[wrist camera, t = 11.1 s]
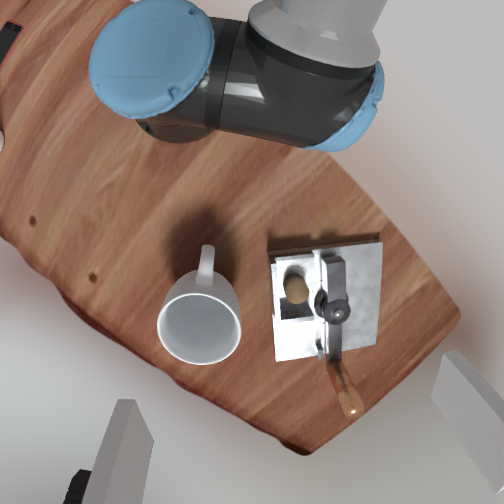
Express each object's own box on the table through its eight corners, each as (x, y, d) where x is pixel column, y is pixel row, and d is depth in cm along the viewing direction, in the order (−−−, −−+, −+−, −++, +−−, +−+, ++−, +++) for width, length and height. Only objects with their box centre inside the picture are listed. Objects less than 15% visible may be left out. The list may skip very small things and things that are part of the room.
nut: (280, 276, 49) (284, 284, 46) (303, 271, 49) (307, 279, 46) (284, 297, 50) (287, 306, 47) (306, 292, 50) (310, 301, 47)
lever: (316, 258, 48) (345, 296, 35) (343, 254, 48) (380, 290, 35) (321, 370, 55) (341, 422, 42) (343, 365, 55) (368, 415, 42)
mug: (176, 230, 48) (157, 256, 36) (246, 238, 49) (251, 267, 37) (171, 315, 53) (156, 360, 40) (235, 322, 54) (236, 369, 41)
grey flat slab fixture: (266, 251, 50) (271, 264, 44) (377, 238, 51) (393, 249, 45) (275, 354, 56) (279, 375, 50) (371, 338, 57) (383, 355, 51)
